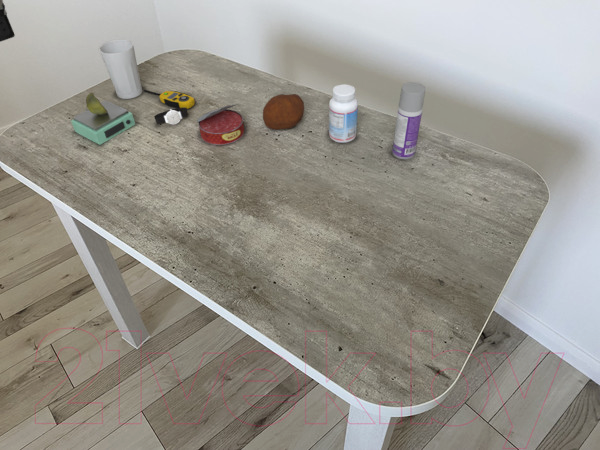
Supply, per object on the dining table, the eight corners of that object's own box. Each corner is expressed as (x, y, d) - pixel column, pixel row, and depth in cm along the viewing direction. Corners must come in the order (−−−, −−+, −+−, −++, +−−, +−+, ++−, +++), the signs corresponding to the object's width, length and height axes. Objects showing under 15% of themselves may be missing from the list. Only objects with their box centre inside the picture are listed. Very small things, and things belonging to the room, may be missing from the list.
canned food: (210, 160, 109) (181, 130, 102) (215, 131, 115) (189, 101, 108) (252, 142, 104) (225, 109, 98) (255, 112, 111) (230, 80, 104)
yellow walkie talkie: (185, 104, 114) (136, 90, 119) (186, 111, 115) (138, 97, 120) (197, 95, 117) (149, 82, 122) (198, 102, 118) (150, 89, 123)
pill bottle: (352, 126, 109) (354, 80, 101) (359, 142, 105) (362, 95, 97) (325, 129, 108) (326, 83, 100) (331, 145, 104) (332, 98, 96)
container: (414, 147, 103) (426, 82, 92) (414, 160, 99) (426, 94, 89) (392, 145, 103) (401, 80, 93) (391, 158, 100) (400, 93, 90)
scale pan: (96, 131, 104) (94, 128, 104) (73, 120, 108) (72, 117, 107) (128, 113, 110) (128, 110, 109) (106, 103, 113) (105, 100, 112)
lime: (97, 107, 110) (90, 87, 107) (115, 110, 109) (108, 90, 106) (85, 117, 107) (77, 97, 104) (103, 120, 106) (95, 100, 103)
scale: (100, 145, 106) (96, 134, 104) (75, 132, 110) (70, 120, 108) (136, 124, 112) (133, 113, 109) (110, 112, 116) (107, 101, 114)
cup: (127, 82, 126) (114, 37, 118) (152, 88, 124) (140, 42, 115) (106, 96, 121) (91, 50, 113) (131, 103, 119) (117, 56, 110)
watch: (159, 130, 110) (155, 116, 107) (153, 120, 113) (149, 106, 110) (191, 120, 112) (188, 107, 110) (185, 111, 115) (182, 97, 113)
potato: (313, 122, 111) (313, 92, 105) (282, 143, 105) (280, 113, 100) (286, 110, 115) (285, 80, 109) (254, 129, 109) (251, 99, 104)
